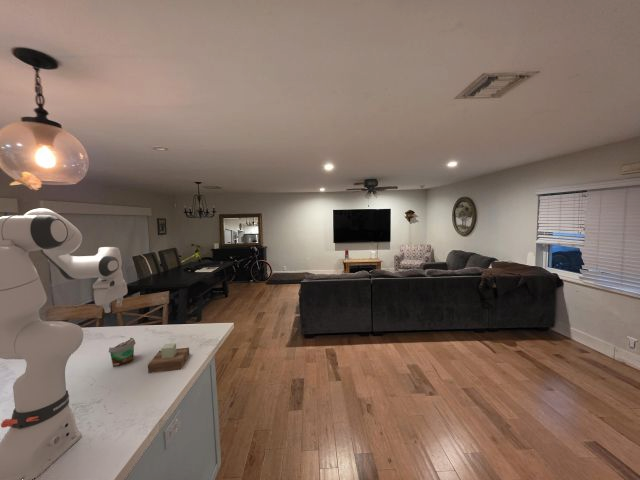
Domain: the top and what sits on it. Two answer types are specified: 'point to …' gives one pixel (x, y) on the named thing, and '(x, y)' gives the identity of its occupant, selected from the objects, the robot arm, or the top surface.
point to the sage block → (168, 350)
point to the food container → (122, 353)
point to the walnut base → (168, 361)
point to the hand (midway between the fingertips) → (113, 309)
